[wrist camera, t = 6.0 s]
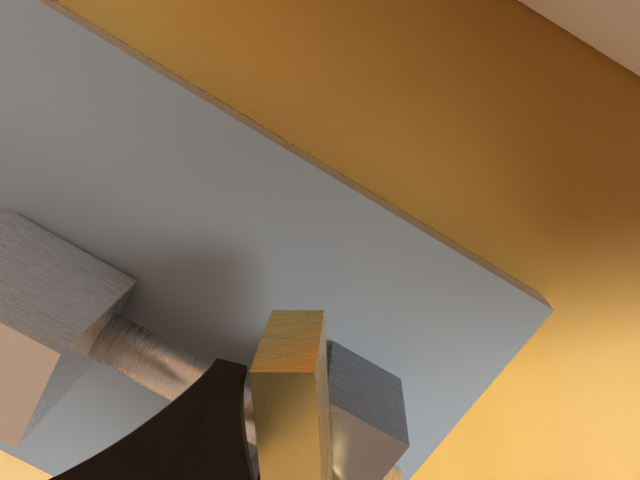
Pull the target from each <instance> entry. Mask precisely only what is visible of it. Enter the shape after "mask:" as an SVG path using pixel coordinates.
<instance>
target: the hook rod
mask: <svg viewBox="0 0 640 480" xmlns="http://www.w3.org/2000/svg"><path fill="white" fill-rule="evenodd" d="M136 282H137V280H135V279H133V278H132V277H130V276H128V275H126V274H124V273H122V272H121V271H119V270H117V269H115V268H113V267H112V266H110V265H108V264H106V263H104V262H103V261H101V260H99V259H97V258H95V257H93V256H92V255H90V254H88V253H86V252H84V251H83V250H81V249H79V248H77V247H75V246H73V245H72V244H70V243H68V242H66V241H64V240H63V239H61V238H59V237H57V236H55V235H54V234H52V233H50V232H48V231H46V230H44V229H43V228H41V227H39V226H37V225H35V224H34V223H32V222H30V221H28V220H26V219H25V218H23V217H21V216H19V215H17V214H15V213H14V212H12V211H7V212H5V213H2V214H0V441H2V442H4V443H6V444H8V445H10V446H12V447H14V448H17V447H18V446H19V445H20V444H21V442H22V441H23V440H24V439H25V438H26V437H27V436H28V435H29V434H30V432H31V431H32V430H33V429H34V428H35V427H36V426H37V425H38V424H39V423H40V421H41V420H42V419H43V418H44V417H45V416H46V415H47V414H48V413H49V411H50V410H51V409H52V408H53V407H54V406H55V405H56V404H57V403H58V401H59V400H60V399H61V398H62V397H63V396H64V395H65V394H66V393H67V391H68V390H69V389H70V388H71V387H72V386H73V385H74V384H75V383H76V381H77V380H78V379H79V378H80V377H81V376H82V375H83V374H84V373H85V371H86V370H87V369H88V368H89V367H90V366H91V365H92V364H93V363H94V361H96V362H98V363H100V364H102V365H104V366H106V367H107V368H109V369H111V370H113V371H115V372H117V373H119V374H121V375H123V376H124V377H126V378H128V379H130V380H132V381H134V382H136V383H138V384H140V385H141V386H143V387H145V388H147V389H149V390H151V391H153V392H155V393H157V394H158V395H160V396H162V397H164V398H166V399H168V400H170V401H173V400H175V399H176V398H177V397H178V396H179V395H181V394H182V393H183V392H184V391H185V390H187V389H188V388H189V387H190V386H191V385H192V384H193V383H194V382H195V381H197V380H198V379H199V378H200V377H201V376H202V375H203V374H204V373H205V372H206V371H207V370H208V369H209V368H210V367H211V366H212V364H211V363H209V362H207V361H205V360H203V359H201V358H200V357H198V356H196V355H194V354H192V353H190V352H189V351H187V350H185V349H183V348H181V347H179V346H177V345H176V344H174V343H172V342H170V341H168V340H166V339H165V338H163V337H161V336H159V335H157V334H155V333H153V332H152V331H150V330H148V329H146V328H144V327H142V326H141V325H139V324H137V323H135V322H133V321H131V320H129V319H128V318H126V317H124V316H122V315H120V314H121V312H122V310H123V308H124V306H125V304H126V302H127V300H128V298H129V296H130V294H131V292H132V290H133V288H134V286H135V284H136ZM244 416H245V425H246V435H247V441H248V442H249V443H251V444H253V445H255V446H257V441H256V432H255V423H254V413H253V404H252V394H251V385H249V384H248V383H246V382H245V383H244ZM401 476H402V474H401V468H400V466H399V465H397V464H395V465H394V466H393V467H392V469H391V470H390V471H389V472H388V473H387V475H386V476H385V477H384V478H383V479H382V480H401Z"/></svg>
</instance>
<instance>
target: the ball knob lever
mask: <svg viewBox="0 0 640 480" xmlns="http://www.w3.org/2000/svg"><path fill="white" fill-rule="evenodd" d="M249 375H250V385H251V394H252V404H253V413H254V423H255V432H256V441H257V451H258V460H259V470H260V479H261V480H333V472H332V451H331V431H330V411H329V391H328V371H327V351H326V330H325V310H272V311H271V314H270V317H269V319H268V322H267V325H266V328H265V330H264V333H263V336H262V339H261V341H260V344H259V347H258V350H257V352H256V355H255V358H254V361H253V363H252V366H251V369H250V371H249Z"/></svg>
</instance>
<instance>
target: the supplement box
mask: <svg viewBox="0 0 640 480" xmlns="http://www.w3.org/2000/svg"><path fill="white" fill-rule="evenodd" d="M518 1H520V2H521V3H523V4H525V5H526V6H528V7H529V8H531V9H532V10H534V11H536V12H537V13H539V14H540V15H542V16H544V17H545V18H547V19H548V20H550V21H552V22H553V23H555V24H556V25H558V26H560V27H561V28H563V29H564V30H566V31H568V32H569V33H571V34H573V35H574V36H576V37H577V38H579V39H581V40H582V41H584V42H585V43H587V44H589V45H590V46H592V47H593V48H595V49H596V50H598V51H600V52H601V53H603V54H604V55H606V56H607V57H609V58H611V59H612V60H614V61H616V62H617V63H619V64H620V65H622V66H624V67H625V68H627V69H629V70H630V71H632V72H633V73H635V74H636V75H638V76H640V0H518Z"/></svg>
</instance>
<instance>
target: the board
mask: <svg viewBox="0 0 640 480" xmlns="http://www.w3.org/2000/svg"><path fill="white" fill-rule="evenodd" d="M7 211H12V212H14V213H15V214H17V215H19V216H21V217H23V218H25V219H26V220H28V221H30V222H32V223H34V224H35V225H37V226H39V227H41V228H43V229H44V230H46V231H48V232H50V233H52V234H54V235H55V236H57V237H59V238H61V239H63V240H64V241H66V242H68V243H70V244H72V245H73V246H75V247H77V248H79V249H81V250H83V251H84V252H86V253H88V254H90V255H92V256H93V257H95V258H97V259H99V260H101V261H103V262H104V263H106V264H108V265H110V266H112V267H113V268H115V269H117V270H119V271H121V272H122V273H124V274H126V275H128V276H130V277H132V278H133V279H135V280H137V282H136V284H135V286H134V288H133V290H132V292H131V294H130V296H129V298H128V300H127V302H126V304H125V306H124V308H123V310H122V312H121V314H120V315H122V316H124V317H126V318H128V319H129V320H131V321H133V322H135V323H137V324H139V325H141V326H142V327H144V328H146V329H148V330H150V331H152V332H153V333H155V334H157V335H159V336H161V337H163V338H165V339H166V340H168V341H170V342H172V343H174V344H176V345H177V346H179V347H181V348H183V349H185V350H187V351H189V352H190V353H192V354H194V355H196V356H198V357H200V358H201V359H203V360H205V361H207V362H209V363H211V364H213V363H214V361H215V360H216V359H217V358H219V359H223V360H227V361H231V362H235V363H239V364H243V365H247V368H246V369H247V374H246V378H245V382H246V383H248V384H249V385H250V375H249V371H250V369H251V366H252V363H253V361H254V358H255V355H256V352H257V350H258V347H259V344H260V341H261V339H262V336H263V333H264V330H265V328H266V325H267V322H268V319H269V317H270V314H271V311H272V310H325V330H326V350H327V348H328V347H329V345H330V344H331V342H332V341H334V342H336V343H338V344H340V345H342V346H343V347H345V348H347V349H349V350H350V351H352V352H354V353H356V354H358V355H359V356H361V357H363V358H365V359H366V360H368V361H370V362H372V363H374V364H375V365H377V366H379V367H381V368H382V369H384V370H386V371H388V372H390V373H391V374H393V375H395V376H397V377H398V378H400V379H401V382H402V390H403V398H404V405H405V413H406V421H407V429H408V437H409V445H410V447H409V448H408V449H407V450H406V452H405V453H404V454H403V455H402V457H401V458H400V459H399V460H398V461H397V463H396V464H397V465H399V466H400V468H401V474H402V476H401V480H409V479H410V478H411V477H412V476H413V475H414V473H415V472H416V471H417V470H418V469H419V468H420V466H421V465H422V464H423V463H424V462H425V461H426V459H427V458H428V457H429V456H430V455H431V453H432V452H433V451H434V450H435V449H436V448H437V446H438V445H439V444H440V443H441V442H442V441H443V439H444V438H445V437H446V436H447V435H448V434H449V432H450V431H451V430H452V429H453V428H454V427H455V425H456V424H457V423H458V422H459V421H460V420H461V418H462V417H463V416H464V415H465V414H466V413H467V411H468V410H469V409H470V408H471V407H472V405H473V404H474V403H475V402H476V401H477V400H478V398H479V397H480V396H481V395H482V394H483V393H484V391H485V390H486V389H487V388H488V387H489V386H490V384H491V383H492V382H493V381H494V380H495V379H496V377H497V376H498V375H499V374H500V373H501V372H502V370H503V369H504V368H505V367H506V366H507V364H508V363H509V362H510V361H511V360H512V359H513V357H514V356H515V355H516V354H517V353H518V352H519V350H520V349H521V348H522V347H523V346H524V345H525V343H526V342H527V341H528V340H529V339H530V338H531V336H532V335H533V334H534V333H535V332H536V331H537V329H538V328H539V327H540V326H541V325H542V324H543V322H544V321H545V320H546V319H547V318H548V316H549V315H550V314H551V313H552V312H553V311H554V310H553V308H552V307H551V306H550V305H549V303H548V302H547V301H546V299H545V298H544V297H543V296H542V295H541V294H539V293H538V292H536V291H534V290H533V289H531V288H529V287H528V286H526V285H524V284H523V283H521V282H519V281H518V280H516V279H515V278H513V277H511V276H510V275H508V274H506V273H505V272H503V271H501V270H500V269H498V268H496V267H495V266H493V265H491V264H490V263H488V262H486V261H485V260H483V259H481V258H480V257H478V256H476V255H475V254H473V253H471V252H470V251H468V250H466V249H465V248H463V247H461V246H460V245H458V244H456V243H455V242H453V241H451V240H450V239H448V238H446V237H445V236H443V235H441V234H440V233H438V232H436V231H435V230H433V229H431V228H430V227H428V226H427V225H425V224H423V223H422V222H420V221H418V220H417V219H415V218H413V217H412V216H410V215H408V214H407V213H405V212H403V211H402V210H400V209H398V208H397V207H395V206H393V205H392V204H390V203H388V202H387V201H385V200H383V199H382V198H380V197H378V196H377V195H375V194H373V193H372V192H370V191H368V190H367V189H365V188H363V187H362V186H360V185H358V184H357V183H355V182H353V181H352V180H350V179H348V178H347V177H345V176H343V175H342V174H340V173H339V172H337V171H335V170H334V169H332V168H330V167H329V166H327V165H325V164H324V163H322V162H320V161H319V160H317V159H315V158H314V157H312V156H310V155H309V154H307V153H305V152H304V151H302V150H300V149H299V148H297V147H295V146H294V145H292V144H290V143H289V142H287V141H285V140H284V139H282V138H280V137H279V136H277V135H275V134H274V133H272V132H270V131H269V130H267V129H265V128H264V127H262V126H260V125H259V124H257V123H255V122H254V121H252V120H251V119H249V118H247V117H246V116H244V115H242V114H241V113H239V112H237V111H236V110H234V109H232V108H231V107H229V106H227V105H226V104H224V103H222V102H221V101H219V100H217V99H216V98H214V97H212V96H211V95H209V94H207V93H206V92H204V91H202V90H201V89H199V88H197V87H196V86H194V85H192V84H191V83H189V82H187V81H186V80H184V79H182V78H181V77H179V76H177V75H176V74H174V73H172V72H171V71H169V70H167V69H166V68H164V67H162V66H161V65H159V64H158V63H156V62H154V61H153V60H151V59H149V58H148V57H146V56H144V55H143V54H141V53H139V52H138V51H136V50H134V49H133V48H131V47H129V46H128V45H126V44H124V43H123V42H121V41H119V40H118V39H116V38H114V37H113V36H111V35H109V34H108V33H106V32H104V31H103V30H101V29H99V28H98V27H96V26H94V25H93V24H91V23H89V22H88V21H86V20H84V19H83V18H81V17H79V16H78V15H76V14H74V13H73V12H71V11H70V10H68V9H66V8H65V7H63V6H61V5H60V4H58V3H56V2H55V1H53V0H0V214H2V213H5V212H7ZM171 402H172V401H170V400H168V399H166V398H164V397H162V396H160V395H158V394H157V393H155V392H153V391H151V390H149V389H147V388H145V387H143V386H141V385H140V384H138V383H136V382H134V381H132V380H130V379H128V378H126V377H124V376H123V375H121V374H119V373H117V372H115V371H113V370H111V369H109V368H107V367H106V366H104V365H102V364H100V363H98V362H96V361H94V363H93V364H92V365H91V366H90V367H89V368H88V369H87V370H86V371H85V373H84V374H83V375H82V376H81V377H80V378H79V379H78V380H77V381H76V383H75V384H74V385H73V386H72V387H71V388H70V389H69V390H68V391H67V393H66V394H65V395H64V396H63V397H62V398H61V399H60V400H59V401H58V403H57V404H56V405H55V406H54V407H53V408H52V409H51V410H50V411H49V413H48V414H47V415H46V416H45V417H44V418H43V419H42V420H41V421H40V423H39V424H38V425H37V426H36V427H35V428H34V429H33V430H32V431H31V432H30V434H29V435H28V436H27V437H26V438H25V439H24V440H23V441H22V442H21V444H20V445H19V446H18V447H17V448H14V447H12V446H10V445H8V444H6V443H4V442H2V441H0V450H2V451H4V452H6V453H8V454H10V455H12V456H14V457H16V458H18V459H20V460H22V461H24V462H26V463H28V464H30V465H32V466H34V467H36V468H38V469H40V470H42V471H44V472H46V473H48V474H50V475H52V476H54V477H55V476H57V475H59V474H61V473H63V472H65V471H67V470H68V469H70V468H72V467H74V466H76V465H78V464H80V463H81V462H83V461H85V460H87V459H89V458H91V457H93V456H94V455H96V454H98V453H99V452H101V451H103V450H104V449H106V448H108V447H109V446H111V445H113V444H114V443H116V442H117V441H119V440H120V439H122V438H123V437H125V436H126V435H128V434H129V433H131V432H132V431H134V430H135V429H137V428H138V427H139V426H141V425H142V424H144V423H145V422H146V421H148V420H149V419H150V418H152V417H153V416H154V415H156V414H157V413H159V412H160V411H161V410H163V409H164V408H165V407H166V406H168V405H169V404H170V403H171ZM248 447H249V453H250V458H252V456H253V455H254V454H255V452H256V451H257V446H255V445H253V444H251V443H249V442H248Z"/></svg>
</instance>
